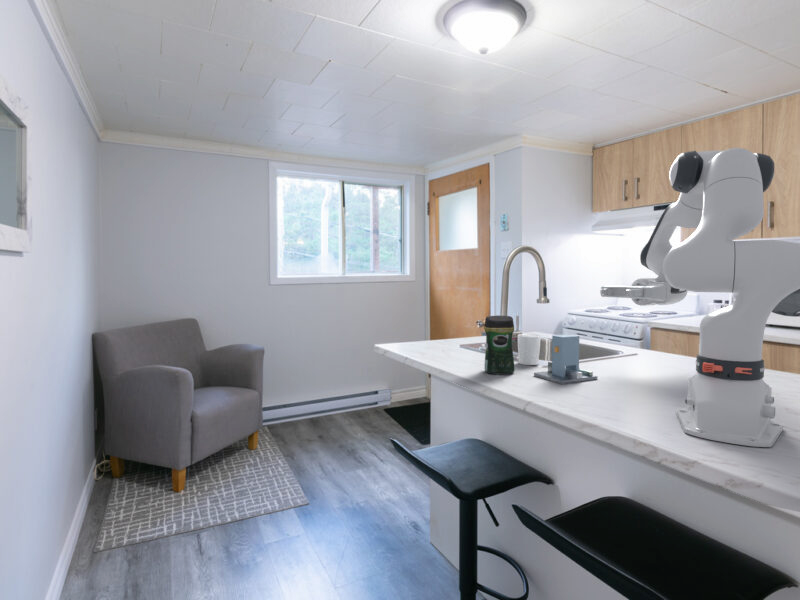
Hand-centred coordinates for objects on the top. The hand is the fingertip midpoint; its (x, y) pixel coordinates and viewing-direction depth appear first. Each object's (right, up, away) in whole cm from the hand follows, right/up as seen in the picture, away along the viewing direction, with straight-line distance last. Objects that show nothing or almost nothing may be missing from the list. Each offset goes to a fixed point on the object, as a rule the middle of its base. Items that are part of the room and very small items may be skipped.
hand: (614, 292), depth 145 cm
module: (-16, -25, -1) cm, 30 cm away
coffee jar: (-34, -26, +7) cm, 44 cm away
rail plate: (-16, -26, -1) cm, 31 cm away
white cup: (-21, -25, +21) cm, 39 cm away
